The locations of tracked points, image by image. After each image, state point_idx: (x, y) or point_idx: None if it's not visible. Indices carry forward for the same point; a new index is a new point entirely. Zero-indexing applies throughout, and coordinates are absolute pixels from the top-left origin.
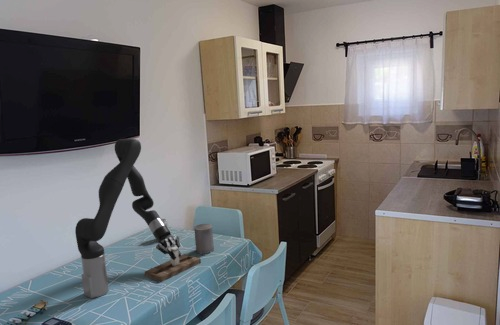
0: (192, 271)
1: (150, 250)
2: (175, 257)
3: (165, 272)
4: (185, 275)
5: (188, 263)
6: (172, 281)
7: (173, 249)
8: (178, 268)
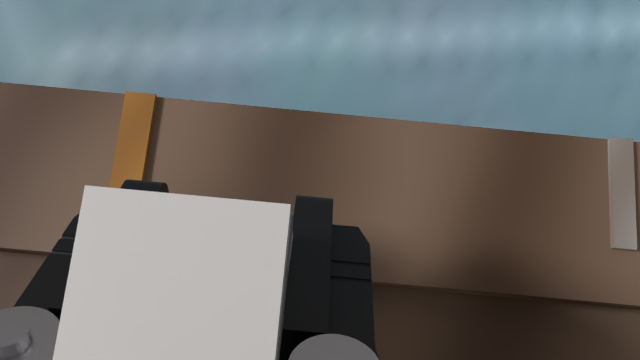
0: (221, 11)
1: None
2: (320, 197)
3: (597, 223)
4: (372, 14)
5: (126, 106)
6: (601, 47)
7: (286, 251)
8: (363, 133)
